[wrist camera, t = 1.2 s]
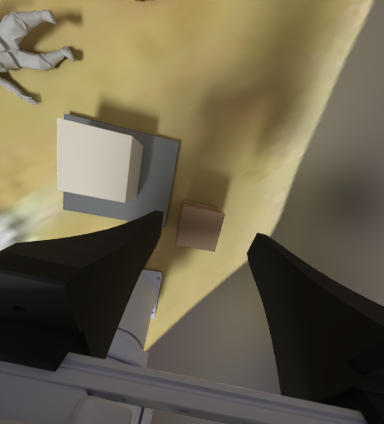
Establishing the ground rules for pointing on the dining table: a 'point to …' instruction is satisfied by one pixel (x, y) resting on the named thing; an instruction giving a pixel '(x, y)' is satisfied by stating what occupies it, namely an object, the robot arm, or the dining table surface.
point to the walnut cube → (199, 226)
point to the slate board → (148, 180)
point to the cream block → (97, 162)
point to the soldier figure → (19, 58)
